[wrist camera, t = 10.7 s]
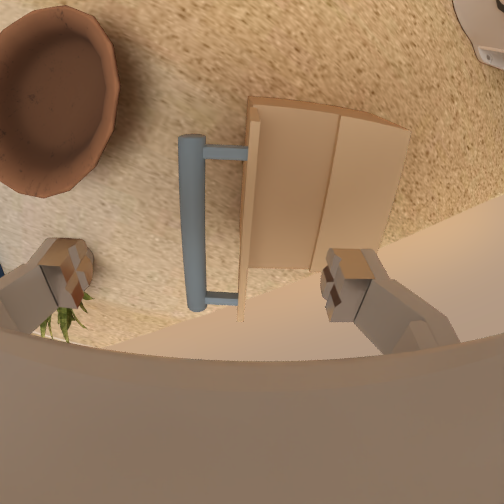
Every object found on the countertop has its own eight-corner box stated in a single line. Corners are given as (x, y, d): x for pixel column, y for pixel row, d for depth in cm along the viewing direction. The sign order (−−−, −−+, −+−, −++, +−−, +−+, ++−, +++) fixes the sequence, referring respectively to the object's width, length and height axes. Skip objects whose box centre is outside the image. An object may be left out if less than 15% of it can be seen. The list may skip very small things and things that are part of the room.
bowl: (80, -11, 20) (35, -25, 11) (187, 79, 30) (167, 82, 21) (-1, 112, 27) (-48, 132, 18) (85, 195, 37) (50, 235, 28)
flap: (260, 122, 16) (175, 120, 16) (243, 324, 26) (187, 320, 26) (256, 107, 23) (196, 105, 23) (244, 270, 33) (198, 267, 33)
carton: (370, 113, 33) (412, 131, 24) (345, 229, 43) (370, 272, 35) (248, 96, 32) (253, 105, 23) (239, 224, 42) (241, 270, 33)
